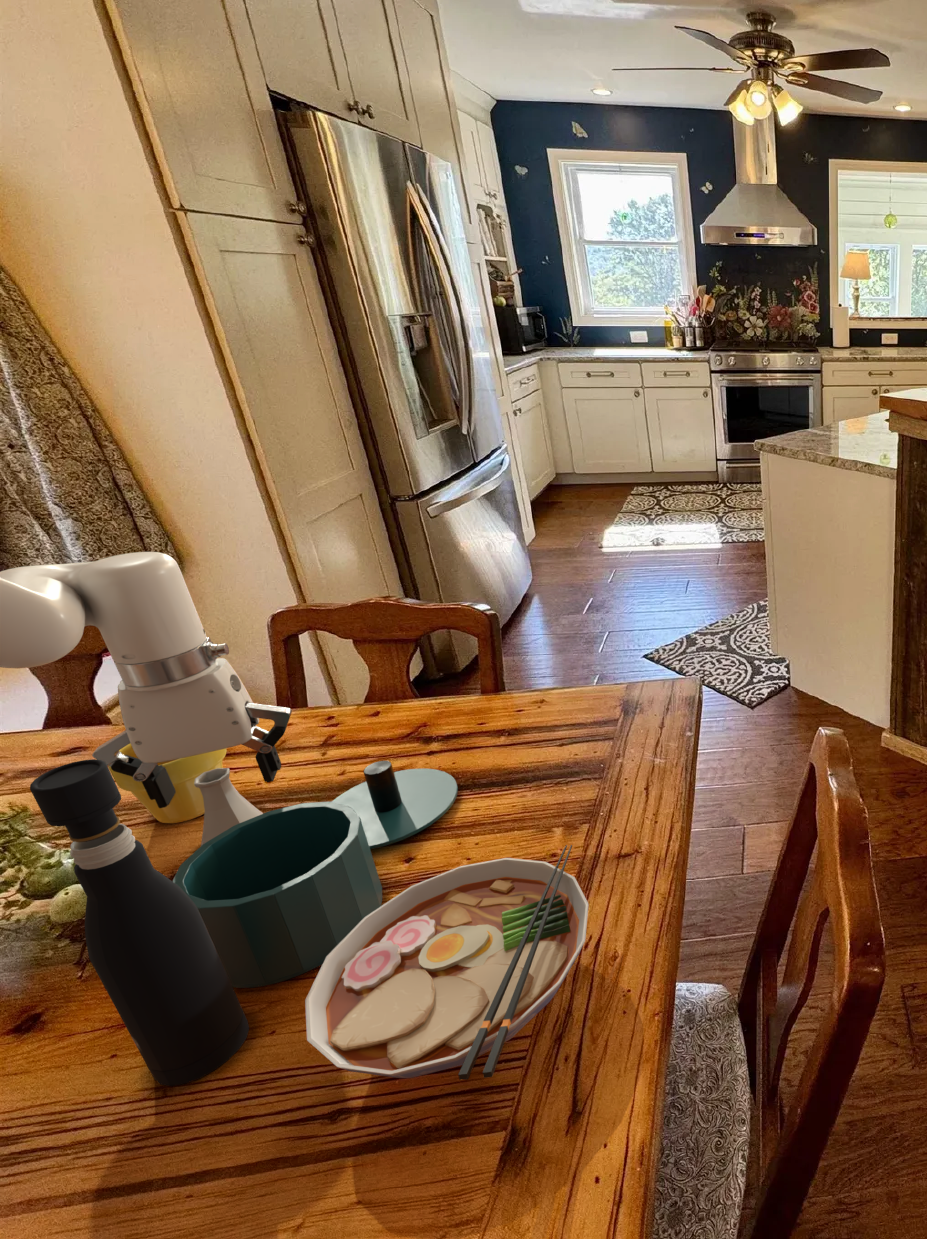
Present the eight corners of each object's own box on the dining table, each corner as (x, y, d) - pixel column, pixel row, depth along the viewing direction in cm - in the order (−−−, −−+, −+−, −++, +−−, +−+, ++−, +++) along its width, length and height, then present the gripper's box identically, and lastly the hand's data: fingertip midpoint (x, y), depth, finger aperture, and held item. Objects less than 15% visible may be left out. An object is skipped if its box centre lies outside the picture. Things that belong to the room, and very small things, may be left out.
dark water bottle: (267, 1015, 66) (153, 748, 55) (209, 1086, 60) (68, 802, 49) (197, 1016, 65) (68, 748, 54) (131, 1087, 59) (-28, 802, 48)
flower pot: (223, 823, 89) (197, 759, 86) (118, 843, 86) (86, 777, 82) (255, 775, 98) (233, 716, 95) (161, 792, 95) (134, 731, 91)
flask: (215, 829, 88) (188, 764, 85) (285, 817, 91) (261, 752, 87) (186, 870, 82) (156, 801, 78) (262, 855, 84) (236, 787, 81)
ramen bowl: (415, 907, 78) (398, 849, 75) (625, 895, 80) (617, 838, 77) (250, 1162, 54) (215, 1094, 51) (552, 1135, 57) (536, 1068, 54)
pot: (187, 1013, 66) (147, 930, 62) (229, 903, 78) (198, 828, 74) (375, 950, 72) (349, 872, 69) (387, 858, 84) (366, 787, 81)
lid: (305, 872, 82) (287, 824, 79) (326, 795, 95) (311, 751, 92) (458, 829, 89) (447, 784, 87) (458, 762, 102) (449, 721, 99)
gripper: (273, 633, 84) (315, 751, 91) (74, 666, 76) (136, 792, 83) (259, 659, 78) (305, 783, 84) (41, 698, 70) (110, 831, 77)
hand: (221, 788), depth 84 cm, fingers open, 9 cm apart
